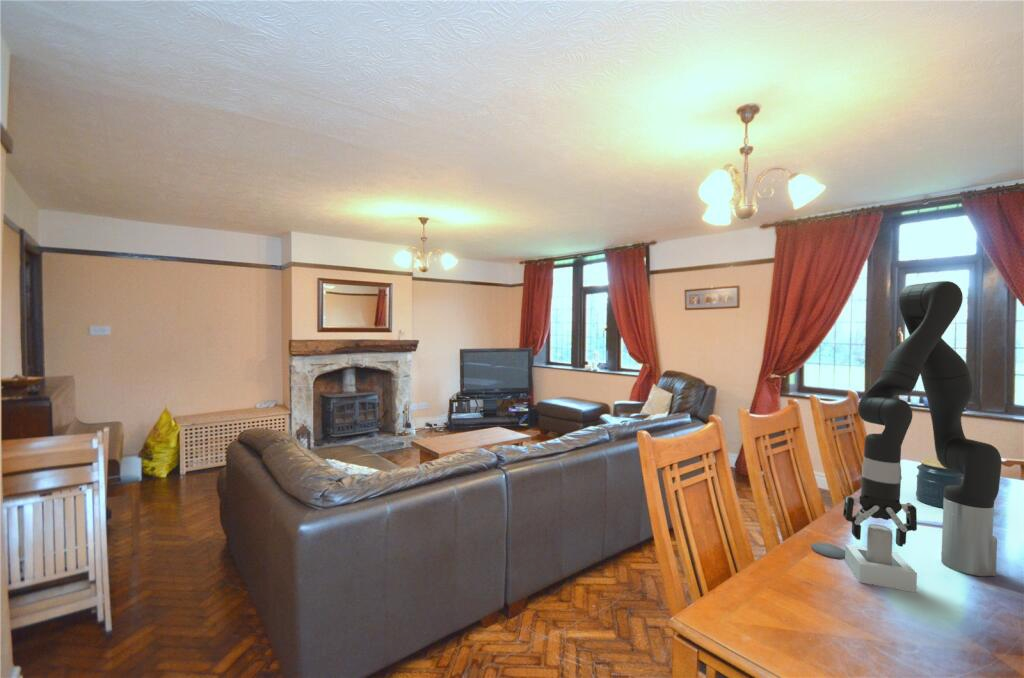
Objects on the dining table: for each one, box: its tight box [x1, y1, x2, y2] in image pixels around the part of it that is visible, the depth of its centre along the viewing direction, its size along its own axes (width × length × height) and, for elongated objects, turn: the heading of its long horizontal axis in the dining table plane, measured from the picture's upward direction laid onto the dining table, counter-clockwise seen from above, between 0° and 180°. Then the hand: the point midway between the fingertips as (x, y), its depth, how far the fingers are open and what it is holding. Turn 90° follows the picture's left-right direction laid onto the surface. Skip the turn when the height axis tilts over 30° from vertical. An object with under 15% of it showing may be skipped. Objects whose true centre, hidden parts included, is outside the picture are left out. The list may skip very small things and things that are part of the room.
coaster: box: [811, 542, 845, 560], centre depth 126 cm, size 8×8×1 cm
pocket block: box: [844, 543, 918, 593], centre depth 114 cm, size 11×11×4 cm
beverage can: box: [866, 523, 893, 566], centre depth 113 cm, size 5×5×12 cm
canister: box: [915, 456, 964, 509], centre depth 163 cm, size 13×13×18 cm
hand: (877, 541), depth 114 cm, fingers open, 8 cm apart
